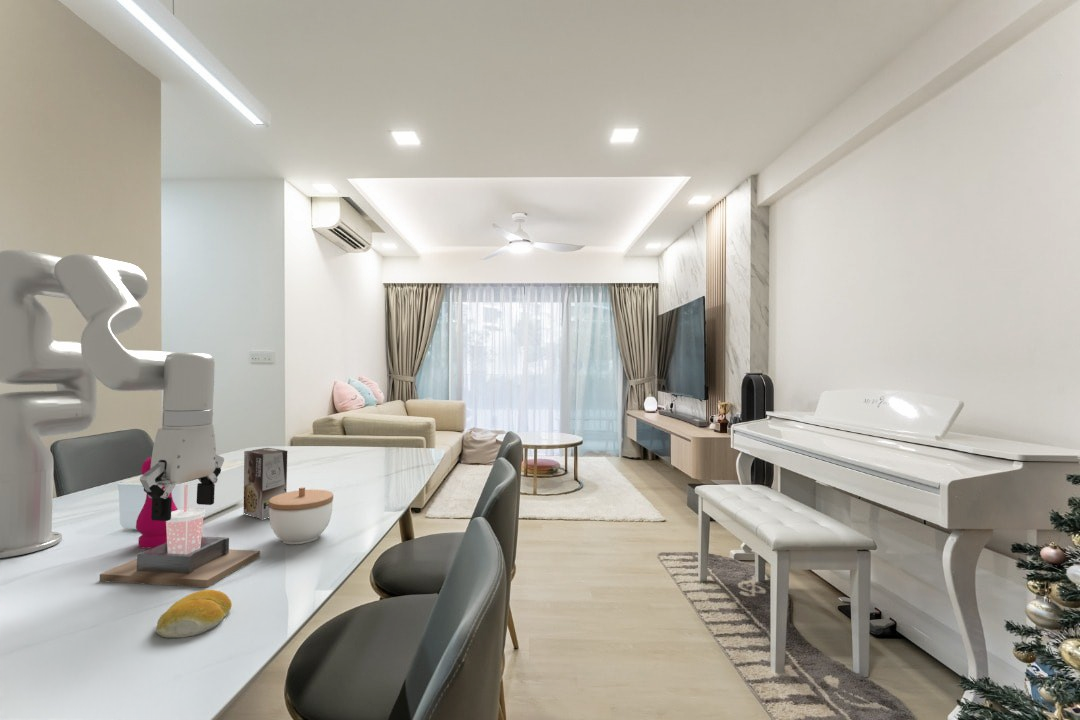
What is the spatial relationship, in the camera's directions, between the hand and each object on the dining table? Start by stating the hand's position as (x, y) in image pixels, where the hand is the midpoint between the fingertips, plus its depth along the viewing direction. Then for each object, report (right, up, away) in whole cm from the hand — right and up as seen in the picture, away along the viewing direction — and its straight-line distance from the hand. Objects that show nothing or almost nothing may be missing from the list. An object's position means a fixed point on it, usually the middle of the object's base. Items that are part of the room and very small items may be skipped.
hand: (184, 511), depth 88 cm
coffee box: (-4, -11, +32) cm, 34 cm away
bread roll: (+16, -11, -18) cm, 26 cm away
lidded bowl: (+14, -11, +16) cm, 24 cm away
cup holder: (0, -10, 0) cm, 10 cm away
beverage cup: (0, -9, 0) cm, 9 cm away
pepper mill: (-15, -11, +12) cm, 22 cm away
